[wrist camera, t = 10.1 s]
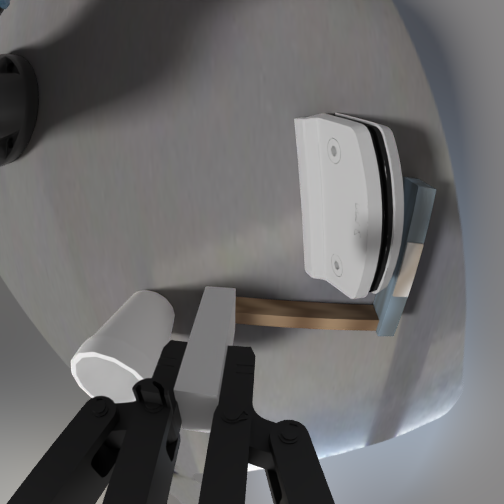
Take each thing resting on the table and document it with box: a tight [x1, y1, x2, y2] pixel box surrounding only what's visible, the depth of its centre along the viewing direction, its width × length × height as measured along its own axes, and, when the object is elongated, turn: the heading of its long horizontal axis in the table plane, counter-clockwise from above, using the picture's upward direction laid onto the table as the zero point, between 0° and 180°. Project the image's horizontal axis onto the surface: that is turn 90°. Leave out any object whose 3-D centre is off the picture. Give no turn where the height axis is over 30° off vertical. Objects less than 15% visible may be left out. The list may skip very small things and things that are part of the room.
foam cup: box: [71, 290, 175, 403], centre depth 32 cm, size 10×9×13 cm
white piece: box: [294, 113, 404, 299], centre depth 26 cm, size 17×5×10 cm, turn 7°
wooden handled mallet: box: [235, 176, 436, 336], centre depth 30 cm, size 22×17×4 cm
